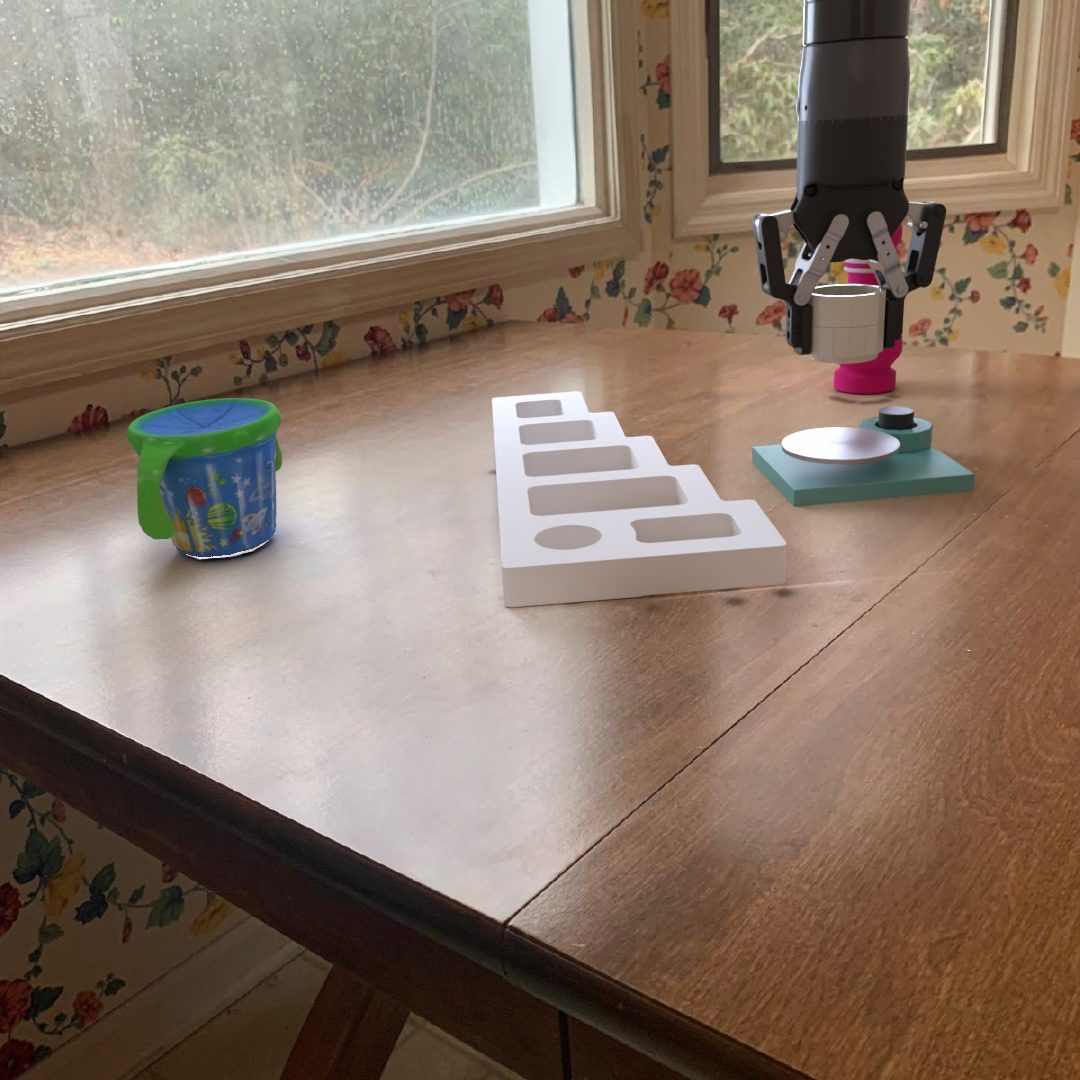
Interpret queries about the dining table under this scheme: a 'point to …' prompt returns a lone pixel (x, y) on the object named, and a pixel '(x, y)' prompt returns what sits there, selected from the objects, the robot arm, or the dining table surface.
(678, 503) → the holder
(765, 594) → the dining table surface
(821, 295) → the beige cup
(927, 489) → the scale
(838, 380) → the pepper mill
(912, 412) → the tare button
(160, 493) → the snack cup
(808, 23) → the robot arm
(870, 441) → the weighing plate
